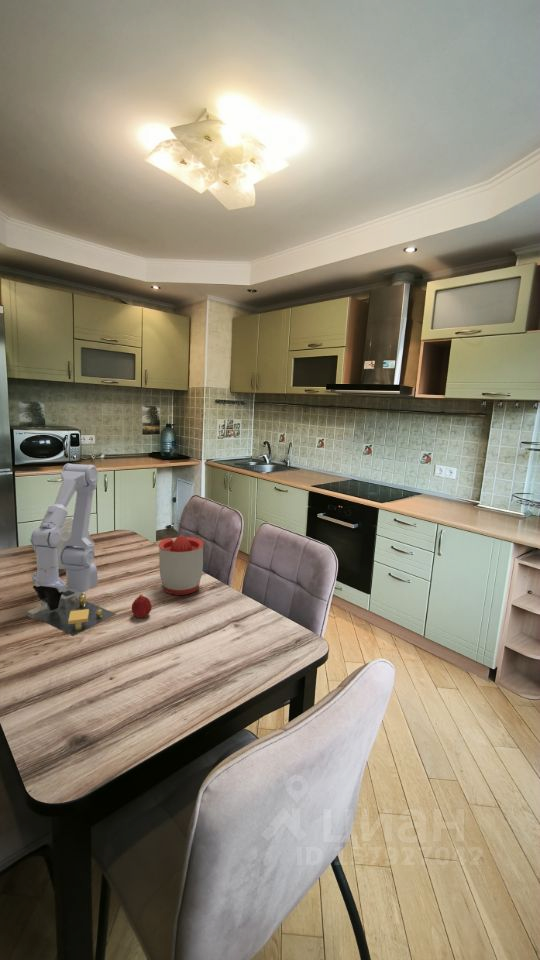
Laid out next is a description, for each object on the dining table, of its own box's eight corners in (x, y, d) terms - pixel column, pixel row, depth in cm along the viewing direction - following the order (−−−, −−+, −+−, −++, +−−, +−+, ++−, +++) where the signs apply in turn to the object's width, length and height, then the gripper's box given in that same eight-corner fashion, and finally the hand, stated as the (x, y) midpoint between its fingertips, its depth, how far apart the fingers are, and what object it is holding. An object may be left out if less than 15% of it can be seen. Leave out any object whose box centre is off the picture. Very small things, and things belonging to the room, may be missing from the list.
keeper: (70, 621, 122) (70, 611, 122) (89, 618, 124) (88, 609, 123) (68, 631, 117) (68, 621, 116) (87, 629, 118) (87, 618, 118)
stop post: (99, 615, 126) (99, 608, 126) (103, 616, 126) (103, 609, 125) (95, 617, 125) (95, 610, 125) (98, 618, 124) (98, 612, 124)
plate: (70, 596, 139) (70, 594, 139) (117, 616, 127) (116, 614, 127) (26, 615, 126) (25, 612, 126) (73, 638, 115) (73, 635, 115)
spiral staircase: (74, 561, 180) (86, 579, 159) (31, 550, 170) (38, 568, 149) (92, 522, 182) (106, 534, 162) (50, 508, 172) (59, 520, 151)
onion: (155, 616, 128) (155, 592, 127) (142, 624, 123) (142, 599, 122) (141, 611, 131) (140, 588, 129) (127, 620, 126) (127, 595, 124)
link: (70, 595, 138) (69, 586, 137) (82, 601, 135) (82, 590, 134) (24, 614, 125) (23, 603, 124) (36, 620, 122) (36, 609, 121)
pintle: (83, 603, 133) (83, 593, 132) (87, 605, 132) (87, 595, 131) (77, 606, 131) (77, 595, 131) (81, 607, 130) (81, 597, 130)
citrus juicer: (199, 576, 160) (199, 526, 156) (206, 595, 144) (207, 540, 140) (157, 579, 155) (156, 528, 151) (160, 600, 139) (159, 543, 135)
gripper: (20, 564, 126) (23, 605, 129) (49, 575, 119) (52, 619, 121) (43, 557, 132) (45, 597, 135) (71, 568, 125) (73, 609, 128)
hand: (50, 607), depth 128 cm, fingers closed on link, 4 cm apart
